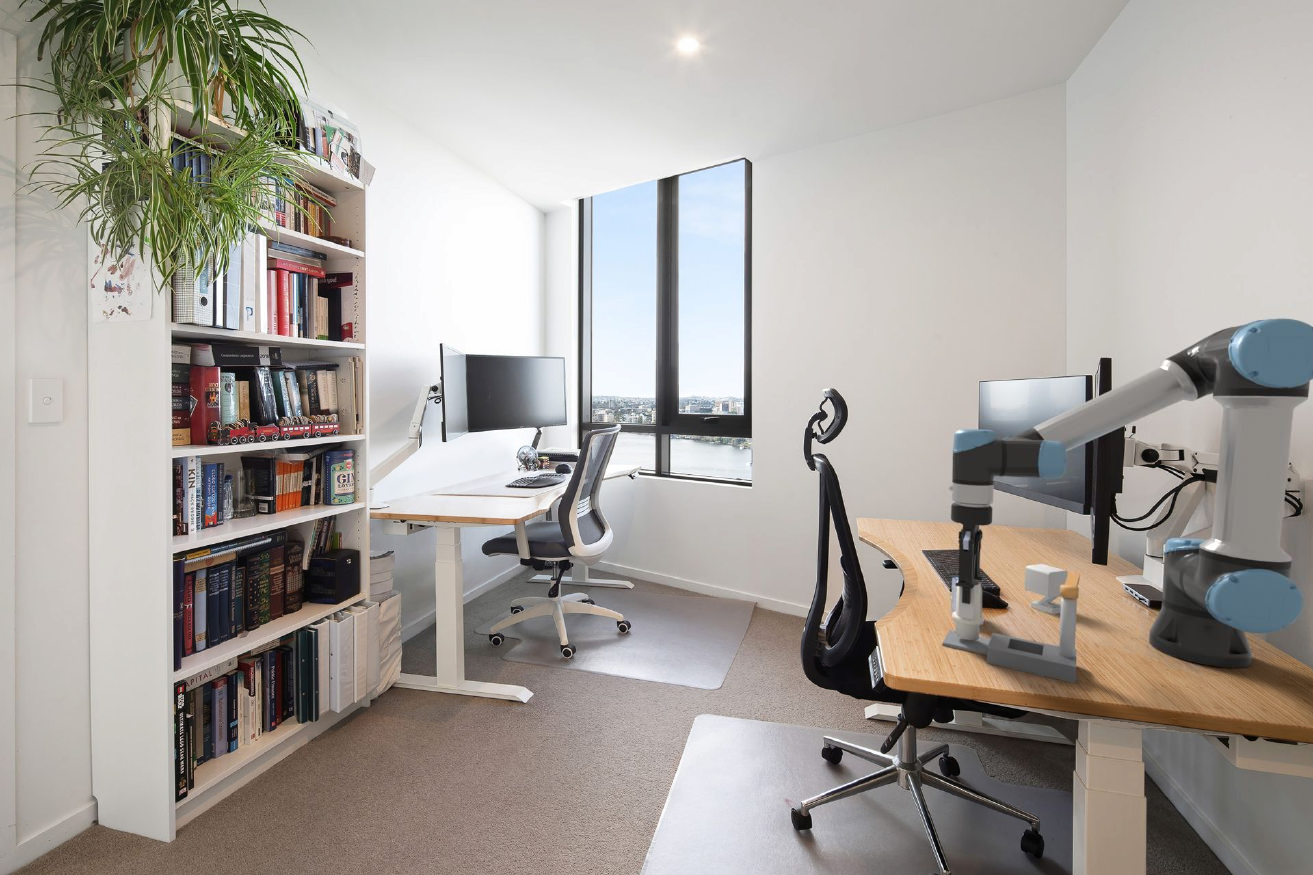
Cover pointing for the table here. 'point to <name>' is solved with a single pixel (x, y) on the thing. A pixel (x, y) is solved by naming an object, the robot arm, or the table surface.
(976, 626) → the plug
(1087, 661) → the table surface
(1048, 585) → the security camera
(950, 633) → the pad
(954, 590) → the medicine box
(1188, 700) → the table surface
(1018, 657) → the grey post stand
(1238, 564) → the robot arm
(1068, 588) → the tan long bar
